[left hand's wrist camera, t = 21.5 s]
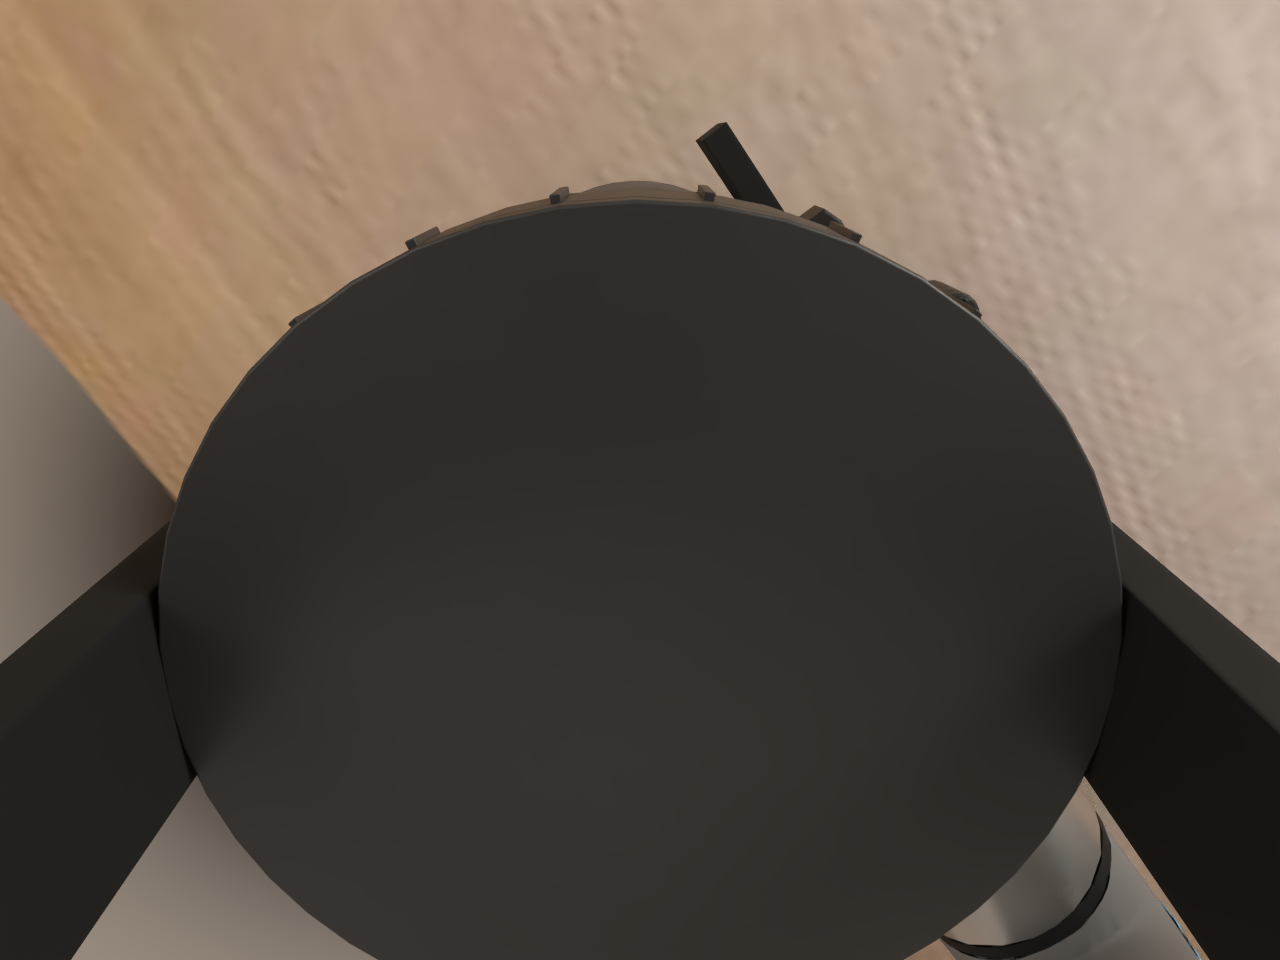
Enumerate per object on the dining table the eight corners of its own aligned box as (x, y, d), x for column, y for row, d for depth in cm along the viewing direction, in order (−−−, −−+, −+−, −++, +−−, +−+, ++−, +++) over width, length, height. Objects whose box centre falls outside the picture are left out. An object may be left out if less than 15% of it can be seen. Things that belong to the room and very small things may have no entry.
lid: (188, 118, 10) (101, 115, 8) (1192, 249, 10) (1290, 270, 9) (234, 895, 14) (184, 992, 13) (945, 961, 15) (982, 1061, 13)
